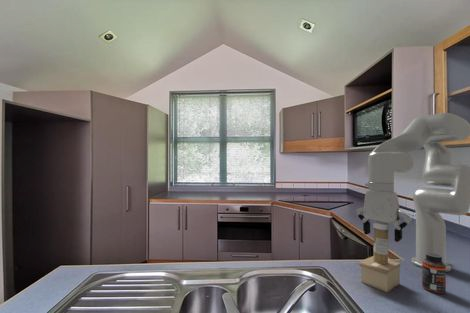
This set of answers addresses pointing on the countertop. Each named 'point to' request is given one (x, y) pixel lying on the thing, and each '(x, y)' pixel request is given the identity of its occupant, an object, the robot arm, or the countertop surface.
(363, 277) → the box
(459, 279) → the countertop surface
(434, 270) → the supplement bottle
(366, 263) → the lid
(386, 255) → the sprinkles bottle
